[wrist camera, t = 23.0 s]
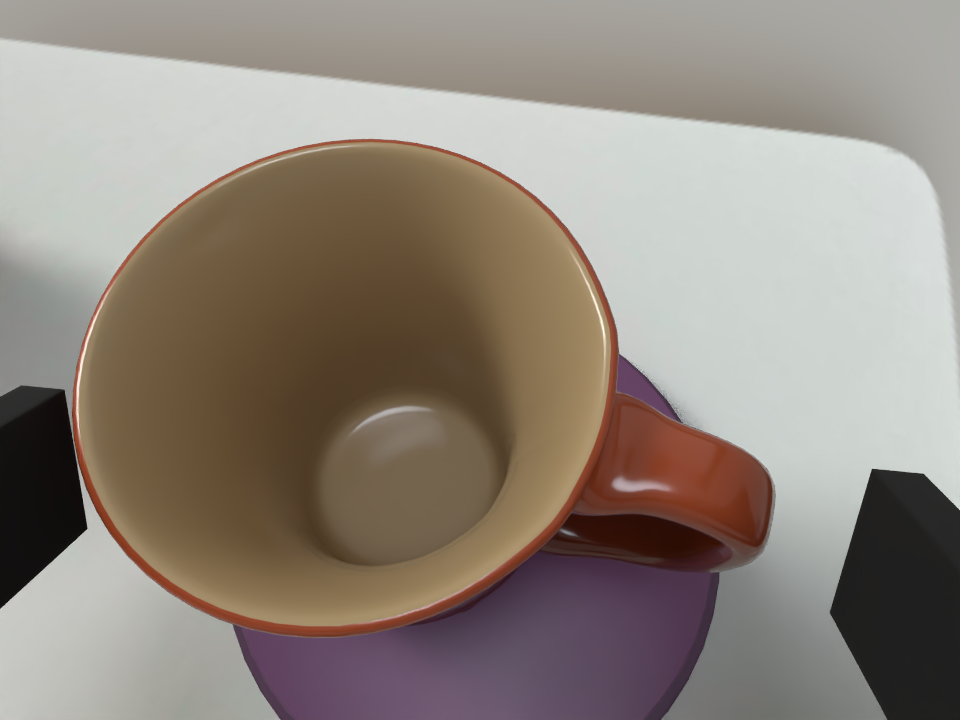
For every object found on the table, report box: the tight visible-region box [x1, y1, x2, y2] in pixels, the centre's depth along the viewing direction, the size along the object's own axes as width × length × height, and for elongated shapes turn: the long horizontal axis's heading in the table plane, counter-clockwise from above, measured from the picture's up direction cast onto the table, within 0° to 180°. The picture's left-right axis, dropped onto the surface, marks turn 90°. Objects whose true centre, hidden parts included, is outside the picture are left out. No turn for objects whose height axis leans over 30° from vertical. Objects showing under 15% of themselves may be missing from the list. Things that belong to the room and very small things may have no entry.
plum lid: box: [233, 354, 719, 720], centre depth 21 cm, size 15×15×1 cm
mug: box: [72, 139, 776, 638], centre depth 16 cm, size 12×9×10 cm
